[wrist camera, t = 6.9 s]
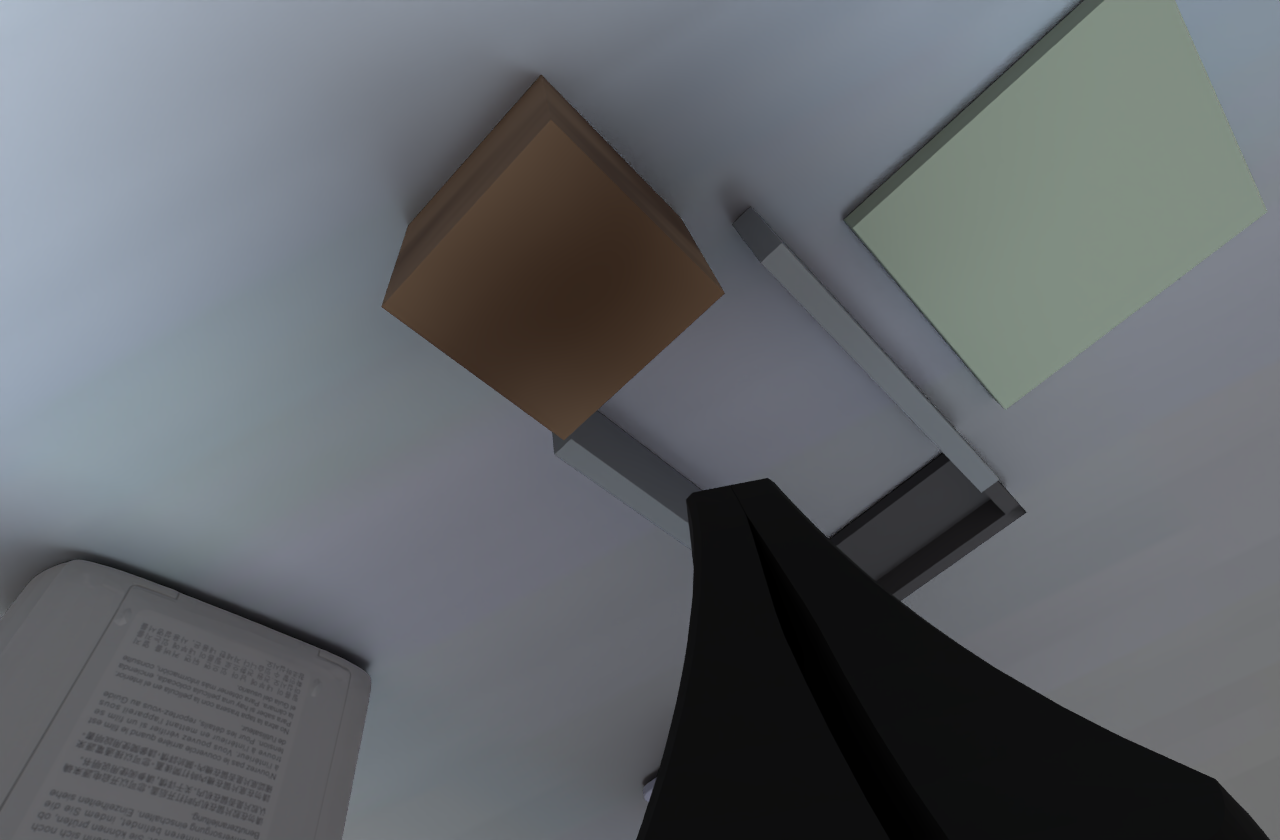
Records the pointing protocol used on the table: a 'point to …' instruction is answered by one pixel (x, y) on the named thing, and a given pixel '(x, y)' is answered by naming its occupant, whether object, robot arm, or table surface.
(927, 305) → the coaster
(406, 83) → the table surface
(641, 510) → the channel
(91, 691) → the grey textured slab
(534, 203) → the block
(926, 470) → the tray
